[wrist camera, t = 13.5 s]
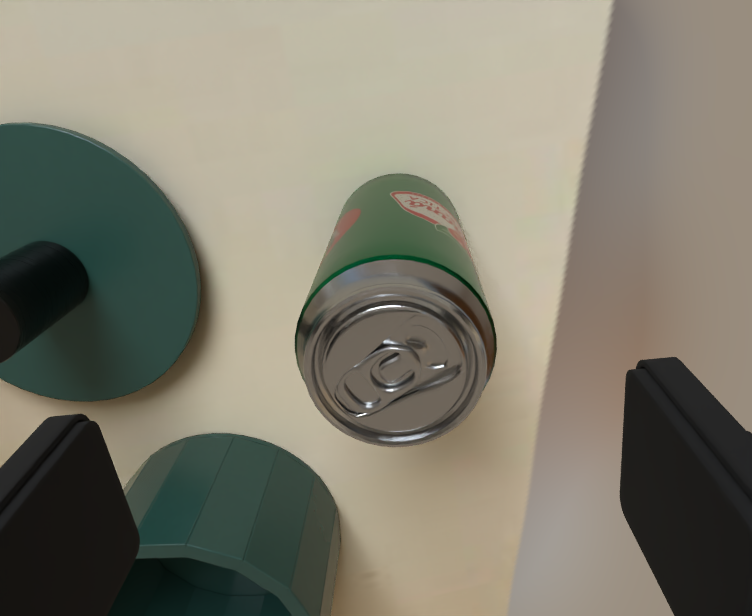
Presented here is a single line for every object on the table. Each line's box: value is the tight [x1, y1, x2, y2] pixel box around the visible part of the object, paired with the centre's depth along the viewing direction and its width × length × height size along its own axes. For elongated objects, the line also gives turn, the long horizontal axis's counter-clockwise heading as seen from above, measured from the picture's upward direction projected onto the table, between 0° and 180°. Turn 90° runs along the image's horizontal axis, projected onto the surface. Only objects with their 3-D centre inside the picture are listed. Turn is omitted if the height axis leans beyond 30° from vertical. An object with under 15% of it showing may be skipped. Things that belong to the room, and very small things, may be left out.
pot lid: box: [0, 123, 201, 401], centre depth 23 cm, size 12×12×6 cm
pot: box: [107, 433, 341, 616], centre depth 28 cm, size 11×11×7 cm
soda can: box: [295, 174, 497, 447], centre depth 19 cm, size 5×5×12 cm
